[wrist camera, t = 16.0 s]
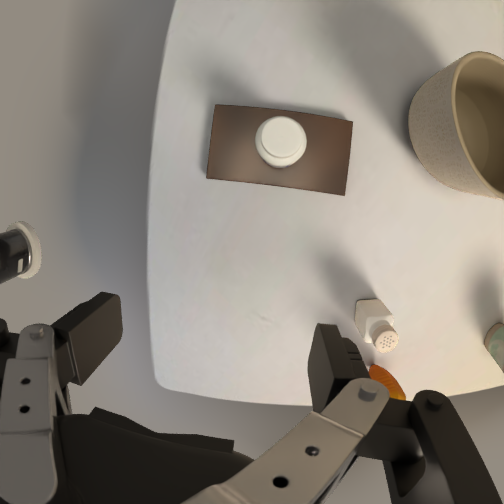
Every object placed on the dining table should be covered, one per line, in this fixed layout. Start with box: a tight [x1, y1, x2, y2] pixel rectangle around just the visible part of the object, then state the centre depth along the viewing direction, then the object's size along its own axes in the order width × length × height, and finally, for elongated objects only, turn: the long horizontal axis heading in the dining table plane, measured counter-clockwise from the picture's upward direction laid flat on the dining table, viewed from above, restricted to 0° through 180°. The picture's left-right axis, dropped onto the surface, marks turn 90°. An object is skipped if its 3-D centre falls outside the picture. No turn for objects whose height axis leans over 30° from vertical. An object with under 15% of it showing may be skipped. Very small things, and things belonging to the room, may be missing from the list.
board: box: [206, 105, 353, 196], centre depth 37 cm, size 18×10×2 cm, turn 84°
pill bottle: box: [255, 116, 307, 168], centre depth 31 cm, size 5×5×10 cm
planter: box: [408, 51, 504, 200], centre depth 27 cm, size 17×17×15 cm
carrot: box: [369, 365, 406, 401], centre depth 37 cm, size 5×5×15 cm
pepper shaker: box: [355, 299, 398, 353], centre depth 37 cm, size 4×4×10 cm
